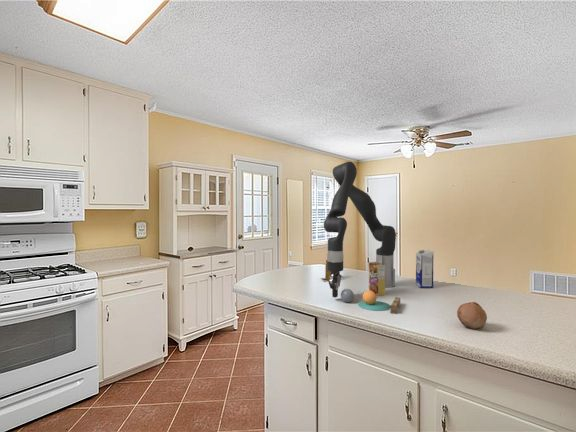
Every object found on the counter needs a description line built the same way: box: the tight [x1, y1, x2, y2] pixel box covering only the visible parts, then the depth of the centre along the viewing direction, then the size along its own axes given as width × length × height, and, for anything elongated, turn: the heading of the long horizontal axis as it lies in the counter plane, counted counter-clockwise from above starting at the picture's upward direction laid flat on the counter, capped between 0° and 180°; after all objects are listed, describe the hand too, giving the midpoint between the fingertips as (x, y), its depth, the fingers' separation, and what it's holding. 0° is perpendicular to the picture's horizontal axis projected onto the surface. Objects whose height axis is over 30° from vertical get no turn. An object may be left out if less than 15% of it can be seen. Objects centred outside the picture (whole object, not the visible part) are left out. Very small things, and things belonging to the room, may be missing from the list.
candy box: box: [368, 261, 386, 297], centre depth 161 cm, size 9×4×15 cm, turn 17°
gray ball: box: [340, 288, 355, 303], centre depth 147 cm, size 6×6×6 cm
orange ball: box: [362, 290, 377, 305], centre depth 143 cm, size 6×6×6 cm
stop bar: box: [390, 296, 401, 315], centre depth 138 cm, size 14×2×3 cm, turn 153°
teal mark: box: [357, 300, 391, 312], centre depth 142 cm, size 14×14×1 cm
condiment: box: [320, 259, 331, 282], centre depth 191 cm, size 7×8×12 cm
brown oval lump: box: [456, 301, 488, 330], centre depth 116 cm, size 10×9×10 cm
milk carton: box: [415, 249, 435, 289], centre depth 175 cm, size 7×7×20 cm
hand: (335, 296), depth 150 cm, fingers closed
